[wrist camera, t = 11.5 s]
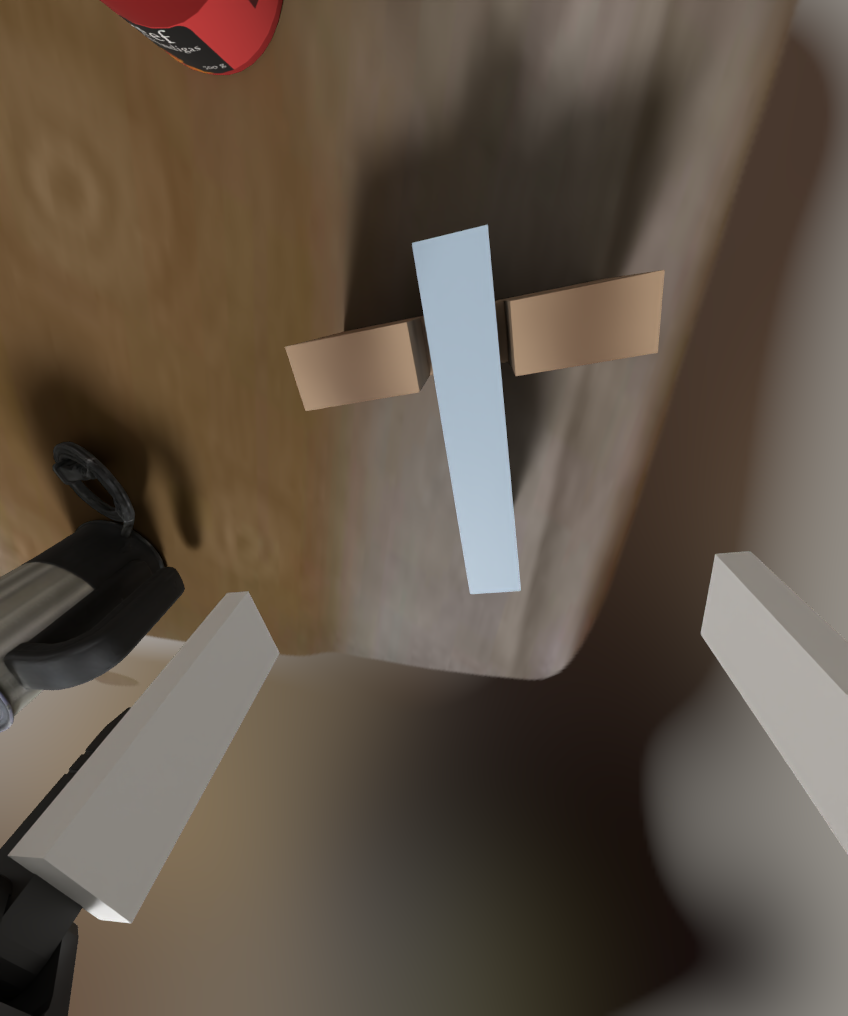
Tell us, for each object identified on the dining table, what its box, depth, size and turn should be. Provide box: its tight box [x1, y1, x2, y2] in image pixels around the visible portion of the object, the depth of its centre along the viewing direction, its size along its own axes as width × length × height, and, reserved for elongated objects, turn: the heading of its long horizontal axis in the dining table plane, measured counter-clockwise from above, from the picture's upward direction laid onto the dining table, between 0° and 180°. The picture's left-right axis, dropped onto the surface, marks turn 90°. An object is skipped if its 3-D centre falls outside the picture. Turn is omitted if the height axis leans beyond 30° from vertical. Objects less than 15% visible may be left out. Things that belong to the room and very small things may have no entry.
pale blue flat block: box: [412, 225, 521, 594], centre depth 23 cm, size 18×3×9 cm, turn 11°
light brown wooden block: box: [285, 270, 665, 411], centre depth 21 cm, size 16×3×9 cm, turn 101°
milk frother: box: [0, 442, 185, 732], centre depth 30 cm, size 14×16×15 cm
